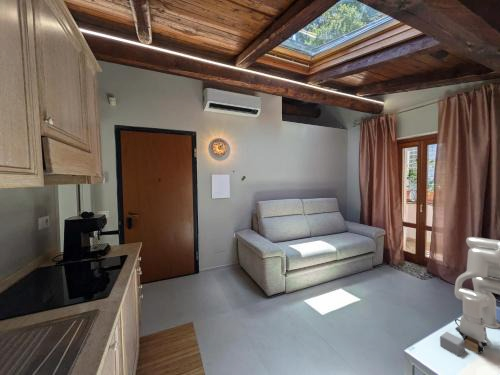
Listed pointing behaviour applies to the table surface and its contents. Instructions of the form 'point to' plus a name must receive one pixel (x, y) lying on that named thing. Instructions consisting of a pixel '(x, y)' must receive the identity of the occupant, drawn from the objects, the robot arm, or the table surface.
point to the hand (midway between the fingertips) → (473, 348)
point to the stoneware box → (452, 343)
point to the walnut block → (471, 344)
